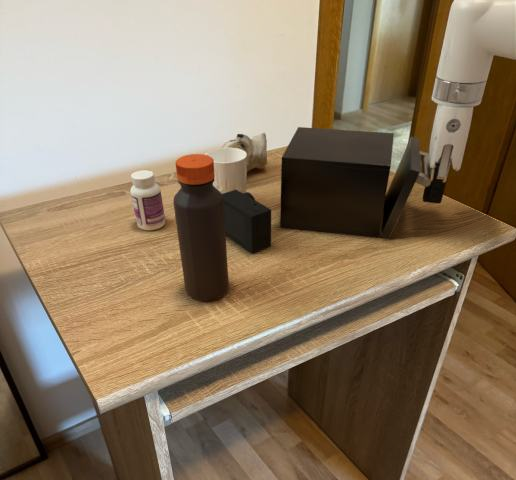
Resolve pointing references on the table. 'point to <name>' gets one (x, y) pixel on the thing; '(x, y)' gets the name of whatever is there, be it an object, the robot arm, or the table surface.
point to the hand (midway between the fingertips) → (431, 200)
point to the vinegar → (201, 228)
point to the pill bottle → (147, 201)
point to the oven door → (404, 184)
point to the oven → (335, 181)
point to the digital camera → (247, 221)
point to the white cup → (229, 169)
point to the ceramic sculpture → (251, 149)
